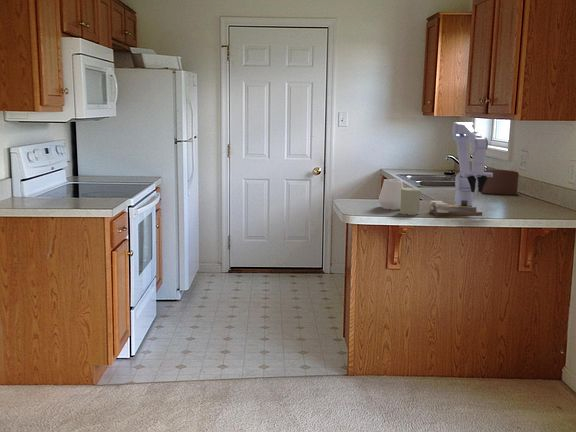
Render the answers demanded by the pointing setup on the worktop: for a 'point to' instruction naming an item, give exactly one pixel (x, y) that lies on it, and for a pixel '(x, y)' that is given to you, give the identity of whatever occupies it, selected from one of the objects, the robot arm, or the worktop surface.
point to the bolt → (463, 204)
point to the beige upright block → (410, 201)
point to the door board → (451, 209)
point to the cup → (391, 194)
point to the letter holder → (501, 182)
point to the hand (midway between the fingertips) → (476, 192)
